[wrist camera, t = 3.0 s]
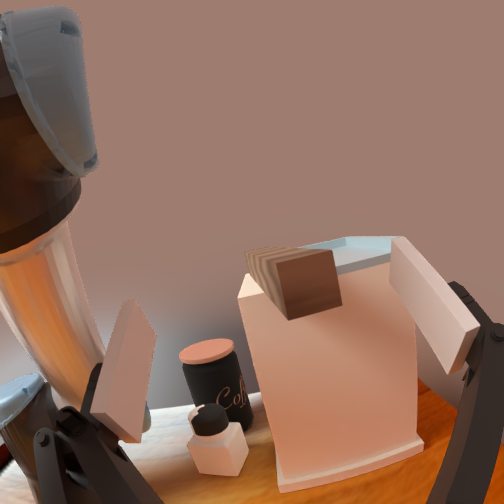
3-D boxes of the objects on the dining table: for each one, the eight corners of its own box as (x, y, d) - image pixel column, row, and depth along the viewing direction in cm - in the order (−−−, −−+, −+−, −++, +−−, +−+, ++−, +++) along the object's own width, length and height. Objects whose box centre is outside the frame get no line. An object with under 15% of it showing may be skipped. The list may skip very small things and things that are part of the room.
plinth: (423, 451, 33) (417, 255, 31) (280, 493, 33) (227, 302, 32) (375, 387, 57) (355, 248, 55) (274, 413, 57) (240, 274, 56)
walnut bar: (342, 305, 21) (332, 249, 21) (288, 320, 20) (275, 263, 20) (272, 269, 53) (267, 246, 52) (249, 275, 52) (244, 252, 52)
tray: (406, 257, 32) (403, 236, 32) (309, 282, 33) (305, 259, 33) (351, 249, 55) (348, 236, 55) (289, 263, 56) (286, 250, 56)
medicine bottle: (249, 451, 46) (233, 398, 45) (238, 477, 39) (217, 422, 38) (213, 450, 48) (194, 398, 47) (198, 474, 41) (175, 421, 40)
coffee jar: (232, 445, 48) (205, 362, 48) (194, 431, 55) (167, 356, 54) (264, 416, 57) (244, 339, 56) (227, 407, 63) (206, 337, 63)
